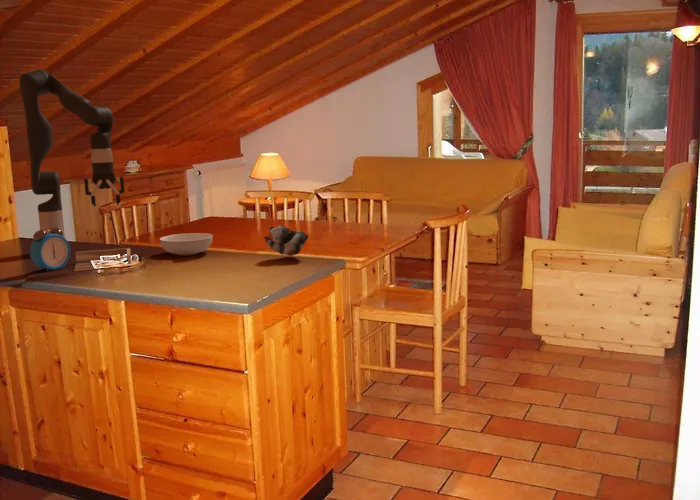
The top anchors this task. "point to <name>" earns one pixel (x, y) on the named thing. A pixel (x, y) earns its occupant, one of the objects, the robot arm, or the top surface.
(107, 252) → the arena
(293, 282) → the top surface
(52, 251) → the alarm clock
